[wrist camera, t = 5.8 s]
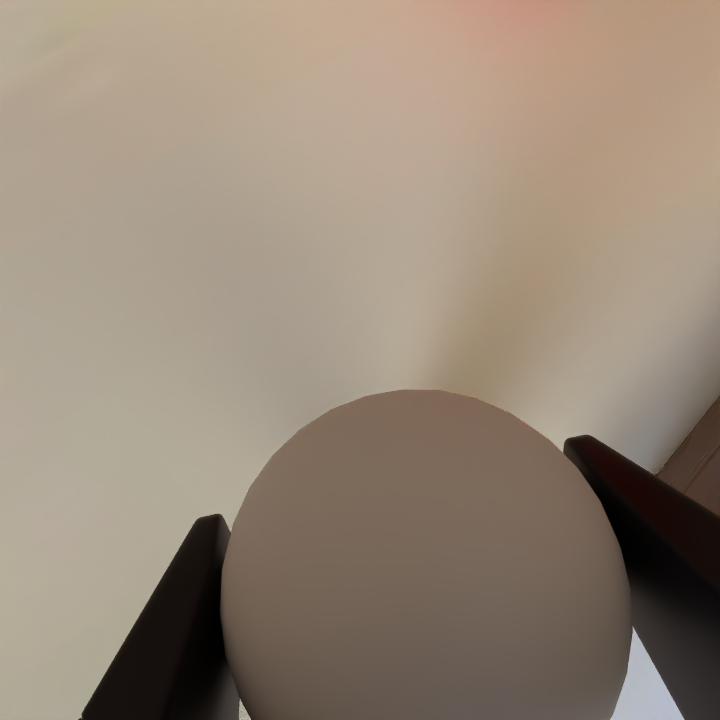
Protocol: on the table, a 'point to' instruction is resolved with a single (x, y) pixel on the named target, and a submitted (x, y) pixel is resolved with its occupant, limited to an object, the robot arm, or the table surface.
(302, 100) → the table surface
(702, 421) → the walnut board
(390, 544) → the lightbulb
